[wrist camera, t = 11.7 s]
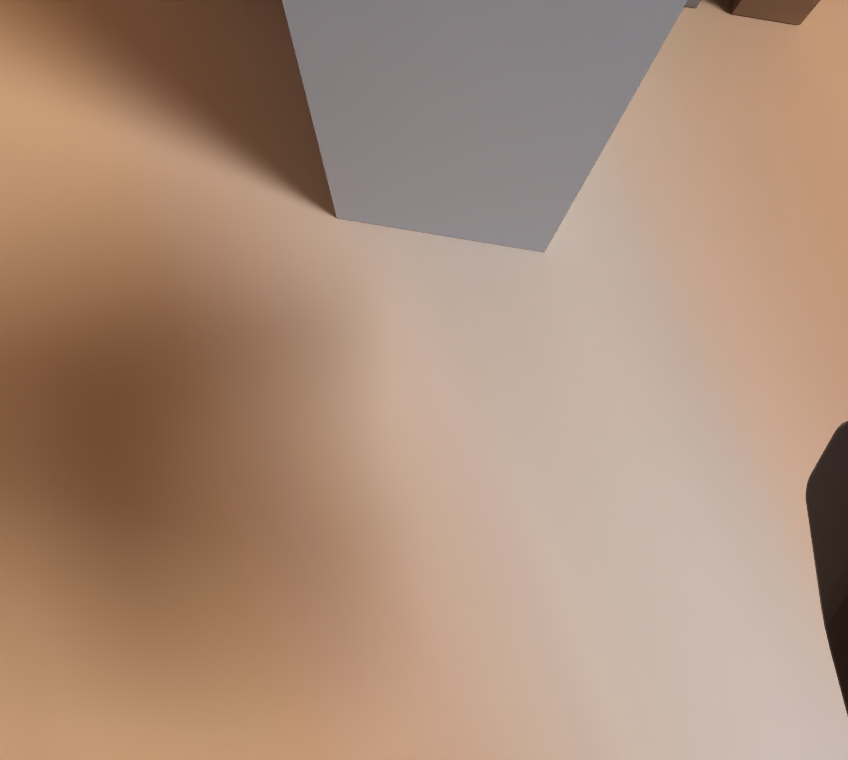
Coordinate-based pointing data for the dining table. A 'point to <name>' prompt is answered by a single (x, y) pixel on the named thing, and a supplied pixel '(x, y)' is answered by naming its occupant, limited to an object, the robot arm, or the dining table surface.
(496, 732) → the dining table surface
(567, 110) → the tall grey prism
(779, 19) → the brown hollow brick
